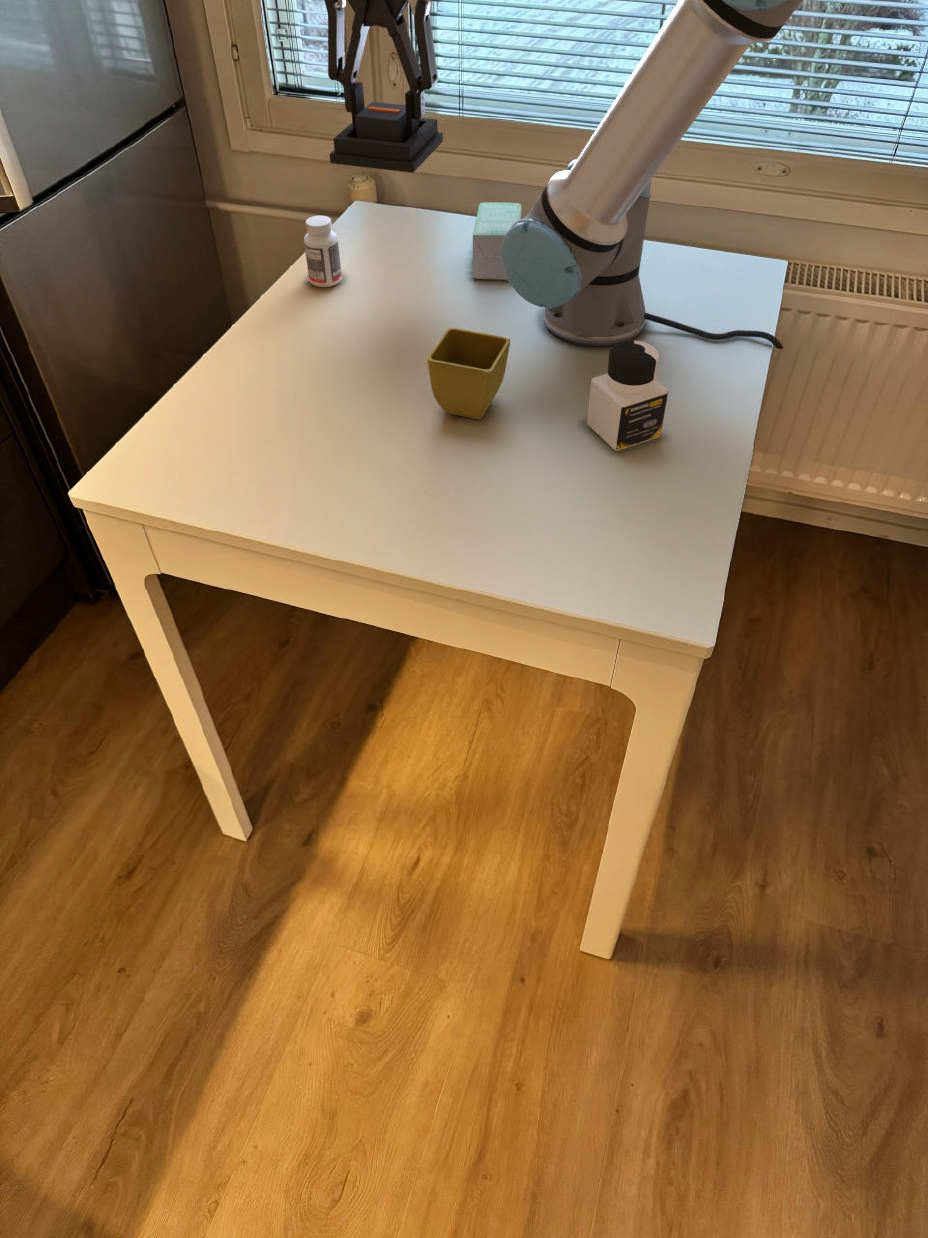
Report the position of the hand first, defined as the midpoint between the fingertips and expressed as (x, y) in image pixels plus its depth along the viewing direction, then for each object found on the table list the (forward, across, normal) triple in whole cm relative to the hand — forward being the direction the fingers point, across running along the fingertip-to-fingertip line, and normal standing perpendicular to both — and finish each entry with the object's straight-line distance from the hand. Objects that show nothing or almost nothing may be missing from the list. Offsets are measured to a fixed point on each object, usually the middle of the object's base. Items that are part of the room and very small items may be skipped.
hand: (387, 140), depth 125 cm
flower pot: (+25, +19, -22) cm, 38 cm away
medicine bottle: (+25, +40, -21) cm, 52 cm away
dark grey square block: (0, 0, 0) cm, 0 cm away
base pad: (+1, 0, 0) cm, 1 cm away
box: (+25, +10, +21) cm, 34 cm away
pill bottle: (+25, -15, +6) cm, 30 cm away
